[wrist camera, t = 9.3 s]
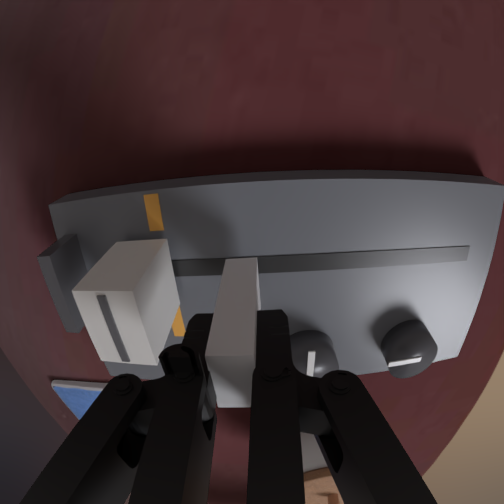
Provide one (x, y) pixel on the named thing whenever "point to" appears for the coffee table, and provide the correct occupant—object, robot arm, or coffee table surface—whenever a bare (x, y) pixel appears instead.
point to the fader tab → (130, 301)
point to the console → (304, 256)
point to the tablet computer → (77, 394)
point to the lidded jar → (317, 474)
